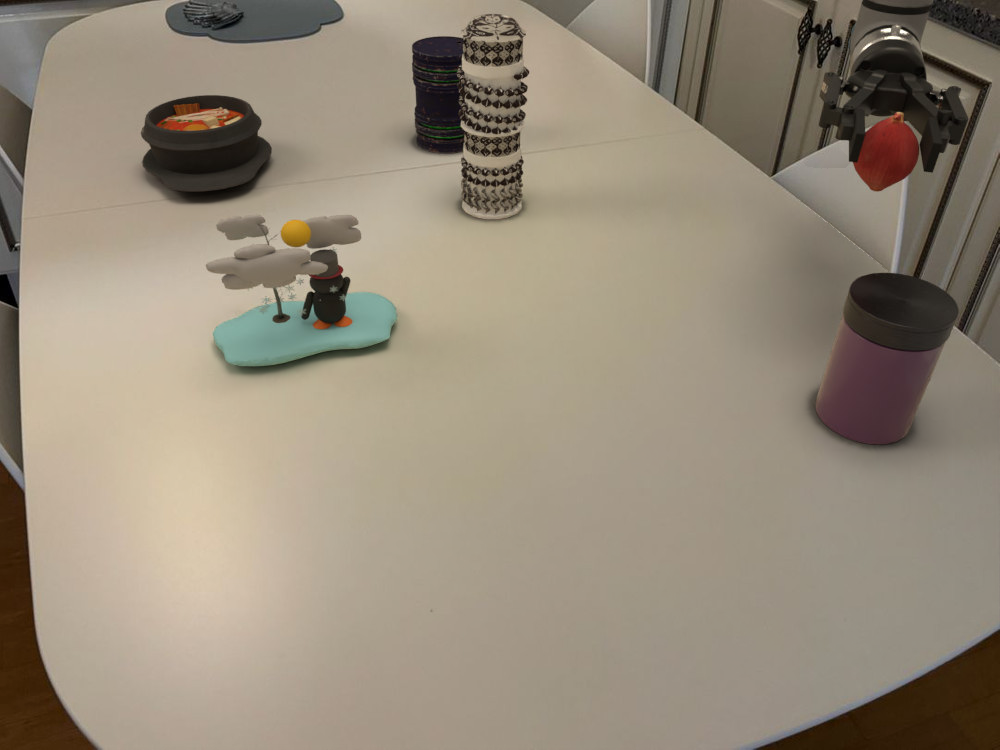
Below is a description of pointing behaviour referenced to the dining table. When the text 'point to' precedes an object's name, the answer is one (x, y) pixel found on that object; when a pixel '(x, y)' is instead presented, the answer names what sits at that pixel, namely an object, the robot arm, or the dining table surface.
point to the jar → (872, 387)
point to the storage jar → (438, 93)
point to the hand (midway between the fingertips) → (894, 152)
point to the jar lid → (900, 311)
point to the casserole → (204, 143)
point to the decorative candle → (492, 115)
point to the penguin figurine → (295, 324)
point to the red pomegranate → (887, 153)
